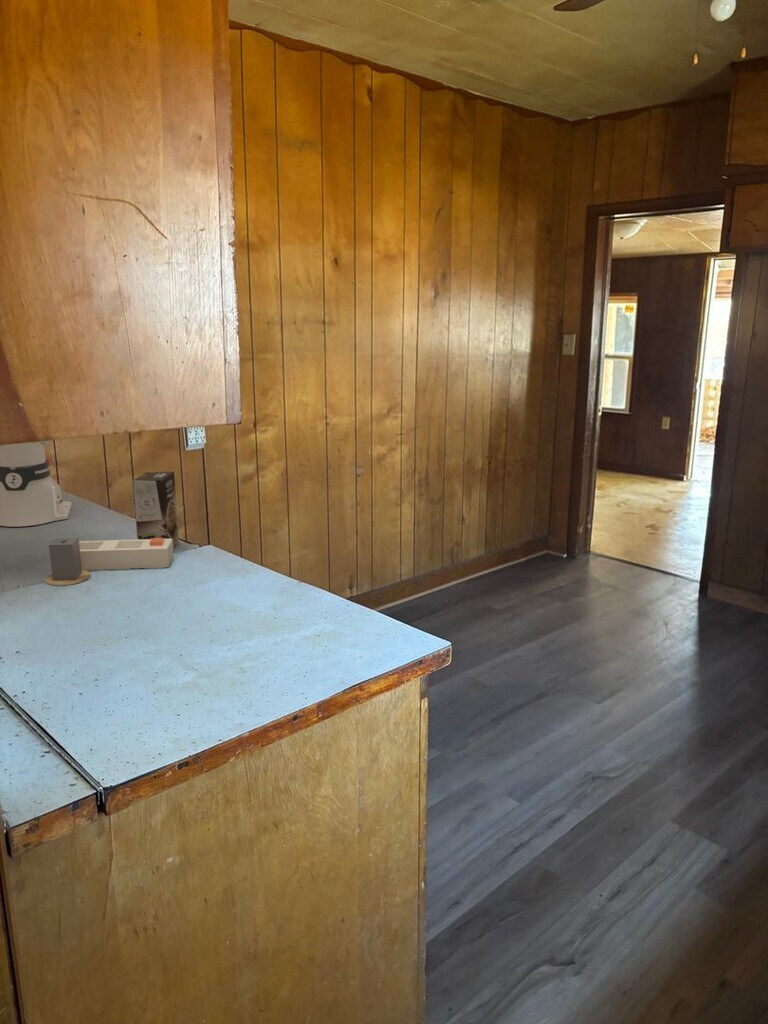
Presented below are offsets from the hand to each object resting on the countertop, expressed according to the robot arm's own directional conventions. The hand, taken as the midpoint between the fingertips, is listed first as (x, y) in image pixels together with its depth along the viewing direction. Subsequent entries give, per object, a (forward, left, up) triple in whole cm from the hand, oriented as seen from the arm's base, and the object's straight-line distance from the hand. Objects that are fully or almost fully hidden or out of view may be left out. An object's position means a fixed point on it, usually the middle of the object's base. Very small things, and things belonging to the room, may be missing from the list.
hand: (19, 444), depth 143 cm
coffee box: (-10, +23, -25) cm, 35 cm away
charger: (+8, +9, -24) cm, 27 cm away
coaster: (+8, +9, -25) cm, 27 cm away
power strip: (0, +16, -25) cm, 29 cm away
